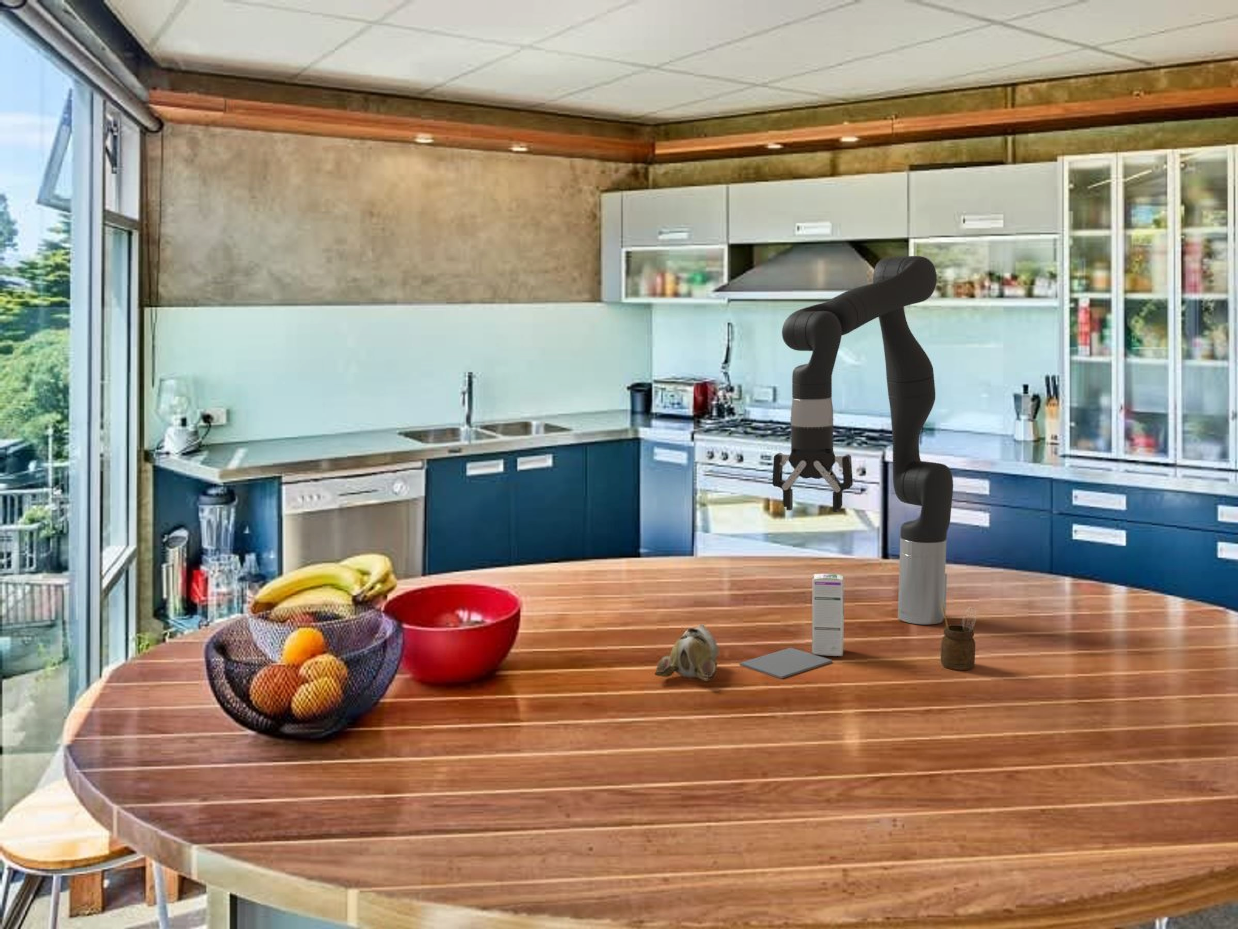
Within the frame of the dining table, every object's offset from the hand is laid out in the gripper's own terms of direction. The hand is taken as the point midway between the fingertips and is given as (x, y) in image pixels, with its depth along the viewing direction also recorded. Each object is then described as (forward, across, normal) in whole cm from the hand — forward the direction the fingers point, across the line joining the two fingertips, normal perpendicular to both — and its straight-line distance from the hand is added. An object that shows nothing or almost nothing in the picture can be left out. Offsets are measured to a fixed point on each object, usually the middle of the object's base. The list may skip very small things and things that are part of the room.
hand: (812, 510), depth 196 cm
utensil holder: (+28, -26, -4) cm, 38 cm away
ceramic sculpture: (+27, +18, +18) cm, 37 cm away
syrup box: (+28, -2, -2) cm, 28 cm away
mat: (+28, +4, +6) cm, 28 cm away
